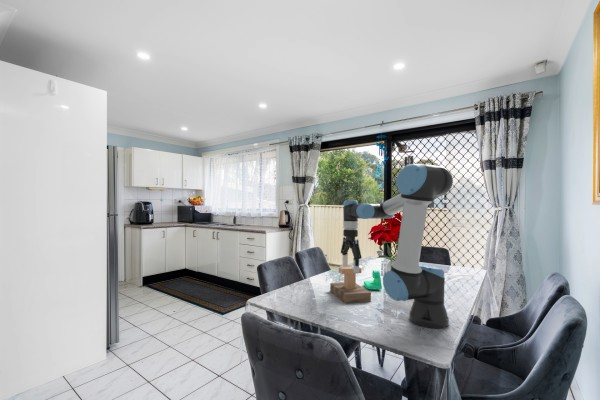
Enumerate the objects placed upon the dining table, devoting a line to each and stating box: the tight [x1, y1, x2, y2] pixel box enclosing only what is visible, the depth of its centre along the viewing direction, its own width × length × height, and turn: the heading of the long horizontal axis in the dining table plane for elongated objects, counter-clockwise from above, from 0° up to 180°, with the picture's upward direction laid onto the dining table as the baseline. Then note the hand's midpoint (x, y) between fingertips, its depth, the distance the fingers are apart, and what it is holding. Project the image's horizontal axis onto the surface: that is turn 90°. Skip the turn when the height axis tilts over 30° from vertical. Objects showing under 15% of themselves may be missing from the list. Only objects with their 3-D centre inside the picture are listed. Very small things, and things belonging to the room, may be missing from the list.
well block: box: [329, 281, 372, 304], centre depth 151 cm, size 20×14×4 cm
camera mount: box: [363, 270, 383, 290], centre depth 167 cm, size 12×8×10 cm, turn 1°
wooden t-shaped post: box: [338, 266, 362, 290], centre depth 151 cm, size 4×11×15 cm, turn 105°
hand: (350, 269), depth 151 cm, fingers open, 13 cm apart
